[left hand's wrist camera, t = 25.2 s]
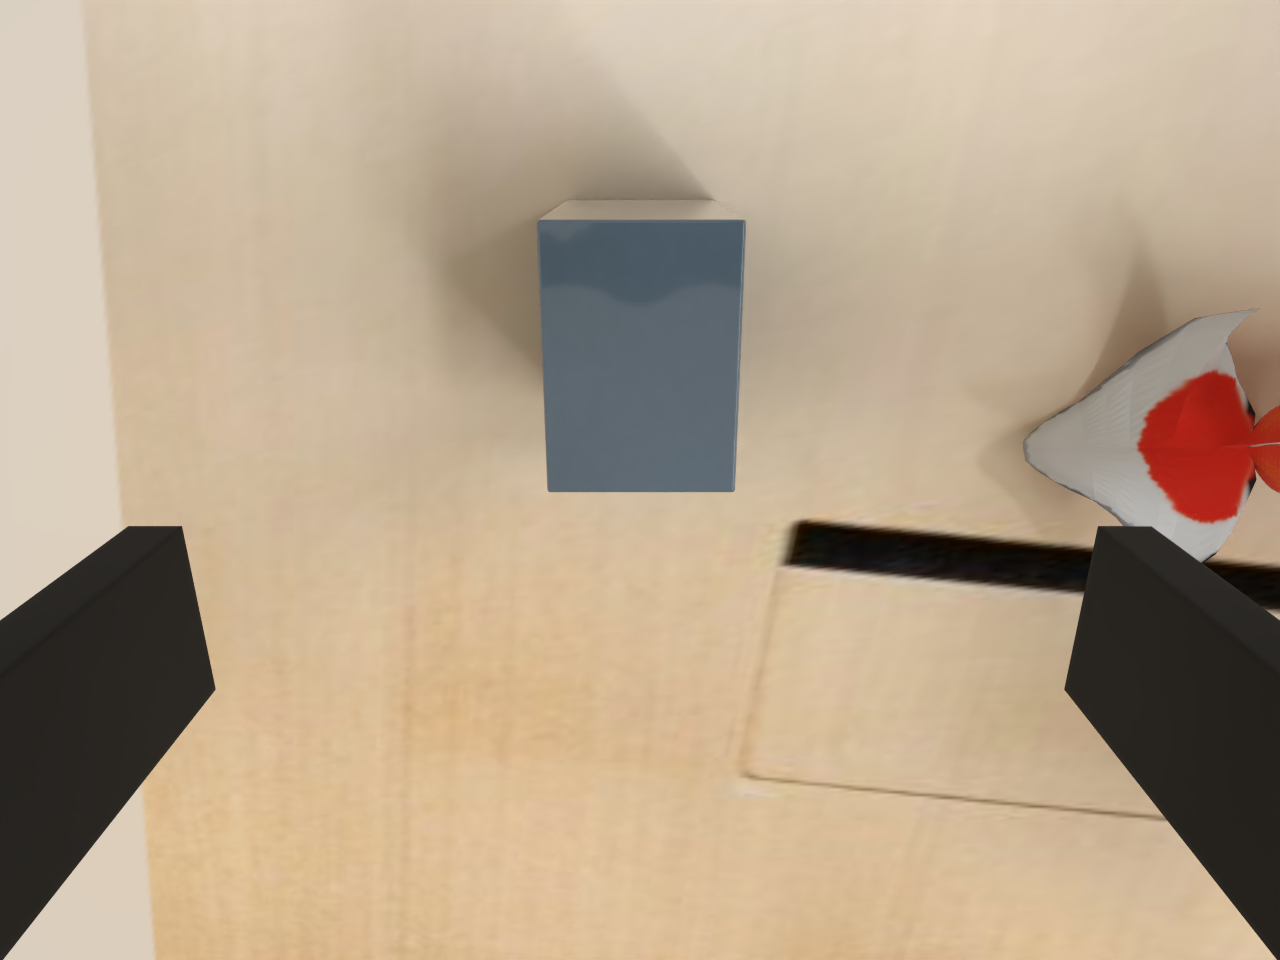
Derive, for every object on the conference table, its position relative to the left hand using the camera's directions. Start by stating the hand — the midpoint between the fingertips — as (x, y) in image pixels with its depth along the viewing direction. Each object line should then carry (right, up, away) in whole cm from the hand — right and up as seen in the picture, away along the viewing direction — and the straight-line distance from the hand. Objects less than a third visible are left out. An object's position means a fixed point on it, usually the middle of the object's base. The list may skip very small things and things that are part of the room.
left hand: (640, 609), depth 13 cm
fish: (+25, +4, +27) cm, 37 cm away
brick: (0, +10, +25) cm, 27 cm away
